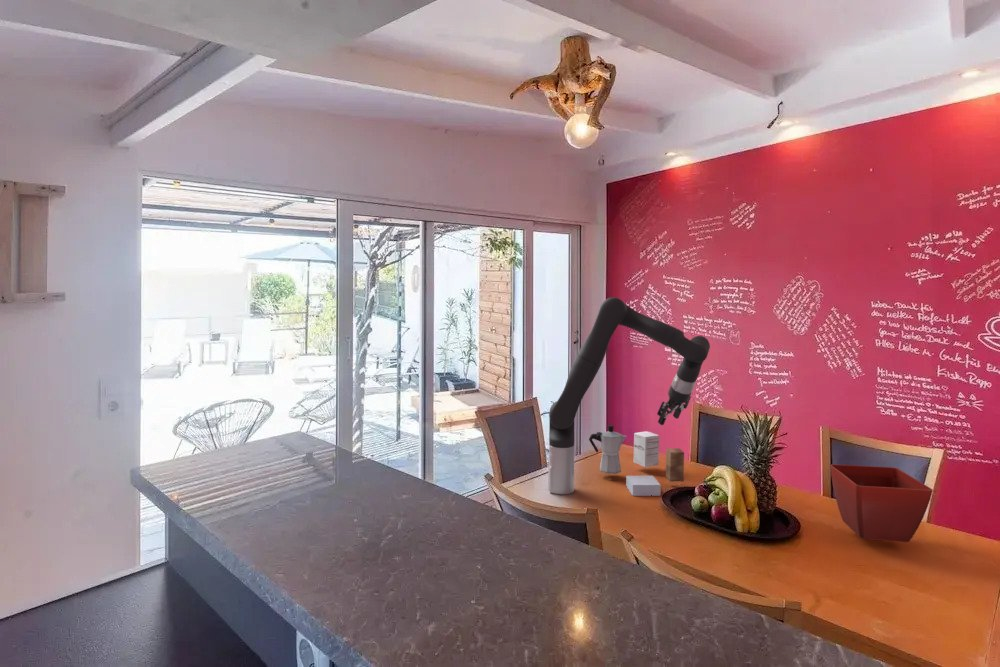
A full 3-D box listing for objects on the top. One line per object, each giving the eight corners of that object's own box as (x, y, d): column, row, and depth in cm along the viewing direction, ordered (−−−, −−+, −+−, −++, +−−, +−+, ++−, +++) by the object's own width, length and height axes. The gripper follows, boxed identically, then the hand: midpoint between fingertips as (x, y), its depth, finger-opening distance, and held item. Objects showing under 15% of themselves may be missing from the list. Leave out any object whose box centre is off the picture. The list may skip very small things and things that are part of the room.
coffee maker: (625, 467, 220) (625, 423, 219) (628, 474, 211) (628, 428, 210) (587, 466, 222) (588, 422, 220) (589, 473, 213) (589, 427, 212)
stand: (632, 495, 197) (632, 485, 197) (626, 486, 207) (626, 475, 207) (660, 495, 197) (660, 484, 197) (652, 485, 207) (652, 475, 207)
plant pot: (931, 549, 149) (934, 489, 148) (854, 544, 153) (857, 485, 151) (894, 520, 168) (896, 467, 167) (826, 516, 172) (828, 463, 170)
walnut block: (670, 481, 203) (670, 452, 203) (665, 476, 208) (666, 448, 208) (683, 481, 203) (684, 452, 203) (678, 476, 208) (679, 448, 208)
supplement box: (632, 462, 226) (633, 432, 225) (647, 460, 229) (647, 430, 228) (644, 467, 219) (645, 436, 218) (659, 465, 222) (659, 434, 221)
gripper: (686, 376, 202) (672, 409, 211) (661, 385, 195) (647, 419, 203) (702, 387, 198) (687, 421, 206) (677, 398, 190) (662, 432, 199)
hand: (667, 420), depth 205 cm, fingers open, 8 cm apart
